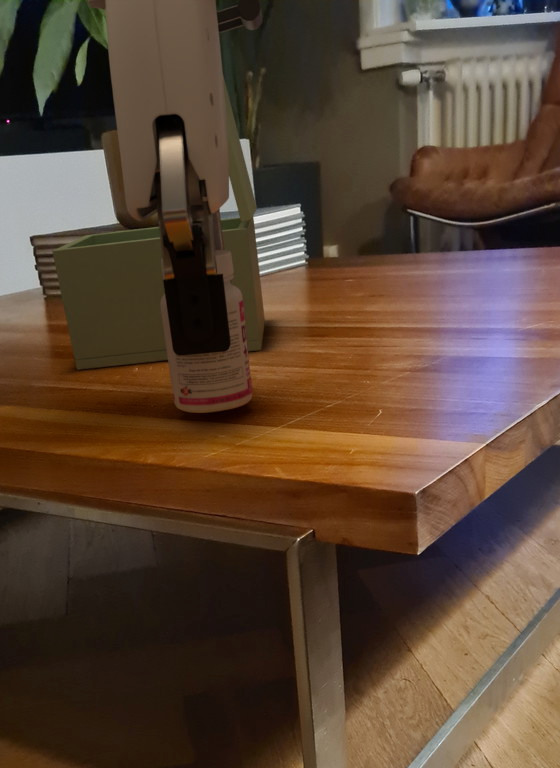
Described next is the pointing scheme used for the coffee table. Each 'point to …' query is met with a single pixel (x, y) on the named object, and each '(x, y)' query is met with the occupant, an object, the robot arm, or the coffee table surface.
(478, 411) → the coffee table surface
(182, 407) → the pill bottle
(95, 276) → the bin
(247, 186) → the lid
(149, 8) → the robot arm
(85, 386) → the coffee table surface
